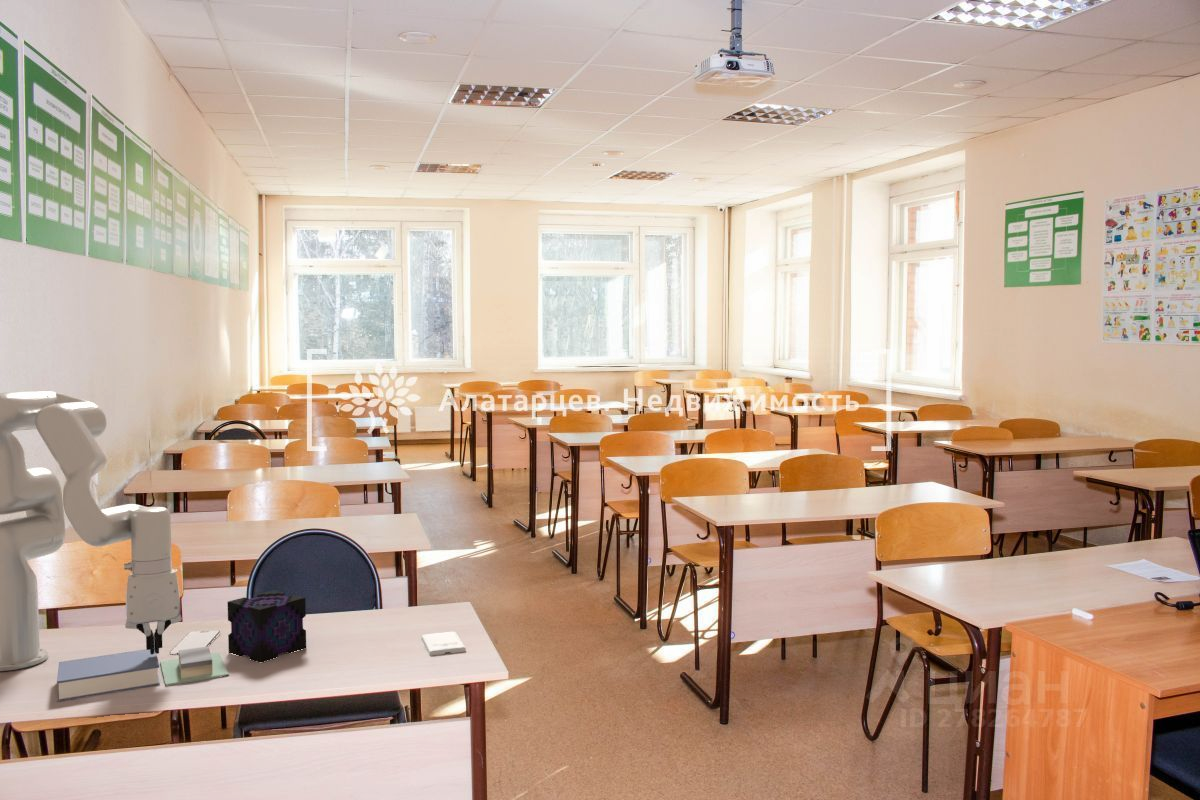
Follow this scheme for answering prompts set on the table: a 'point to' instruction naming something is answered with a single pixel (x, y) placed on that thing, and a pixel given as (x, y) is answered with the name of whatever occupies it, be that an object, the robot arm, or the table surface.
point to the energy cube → (266, 625)
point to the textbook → (107, 674)
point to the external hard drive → (443, 643)
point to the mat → (174, 676)
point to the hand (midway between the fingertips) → (154, 652)
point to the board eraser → (195, 662)
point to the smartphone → (195, 640)
